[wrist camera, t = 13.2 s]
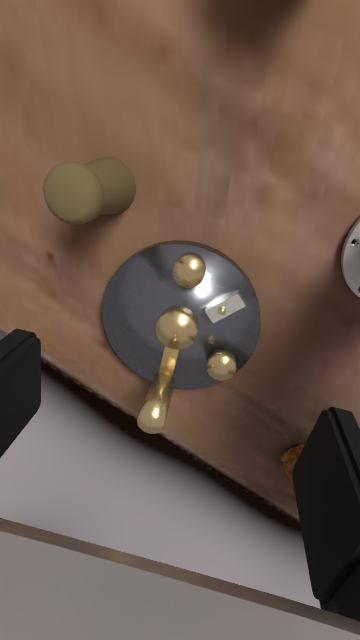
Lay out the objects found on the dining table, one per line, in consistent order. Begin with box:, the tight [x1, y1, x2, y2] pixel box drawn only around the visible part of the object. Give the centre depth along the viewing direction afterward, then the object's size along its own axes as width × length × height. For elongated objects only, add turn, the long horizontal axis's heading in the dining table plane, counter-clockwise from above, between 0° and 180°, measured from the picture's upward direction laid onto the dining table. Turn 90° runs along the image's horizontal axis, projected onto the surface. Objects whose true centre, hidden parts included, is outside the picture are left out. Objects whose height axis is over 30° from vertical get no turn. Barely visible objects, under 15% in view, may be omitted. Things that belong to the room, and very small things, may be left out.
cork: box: [43, 157, 135, 225], centre depth 33 cm, size 6×6×11 cm
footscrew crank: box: [137, 306, 198, 434], centre depth 39 cm, size 12×5×9 cm, turn 168°
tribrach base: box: [102, 241, 260, 389], centre depth 42 cm, size 20×20×4 cm
